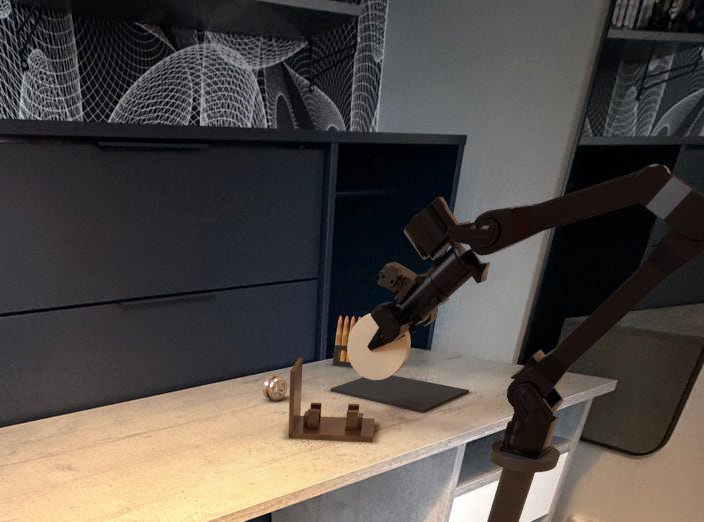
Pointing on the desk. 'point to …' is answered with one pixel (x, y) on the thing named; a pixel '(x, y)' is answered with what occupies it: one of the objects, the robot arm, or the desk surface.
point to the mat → (401, 392)
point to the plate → (375, 351)
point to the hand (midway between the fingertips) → (371, 347)
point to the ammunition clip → (342, 343)
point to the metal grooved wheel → (274, 388)
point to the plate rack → (324, 426)
